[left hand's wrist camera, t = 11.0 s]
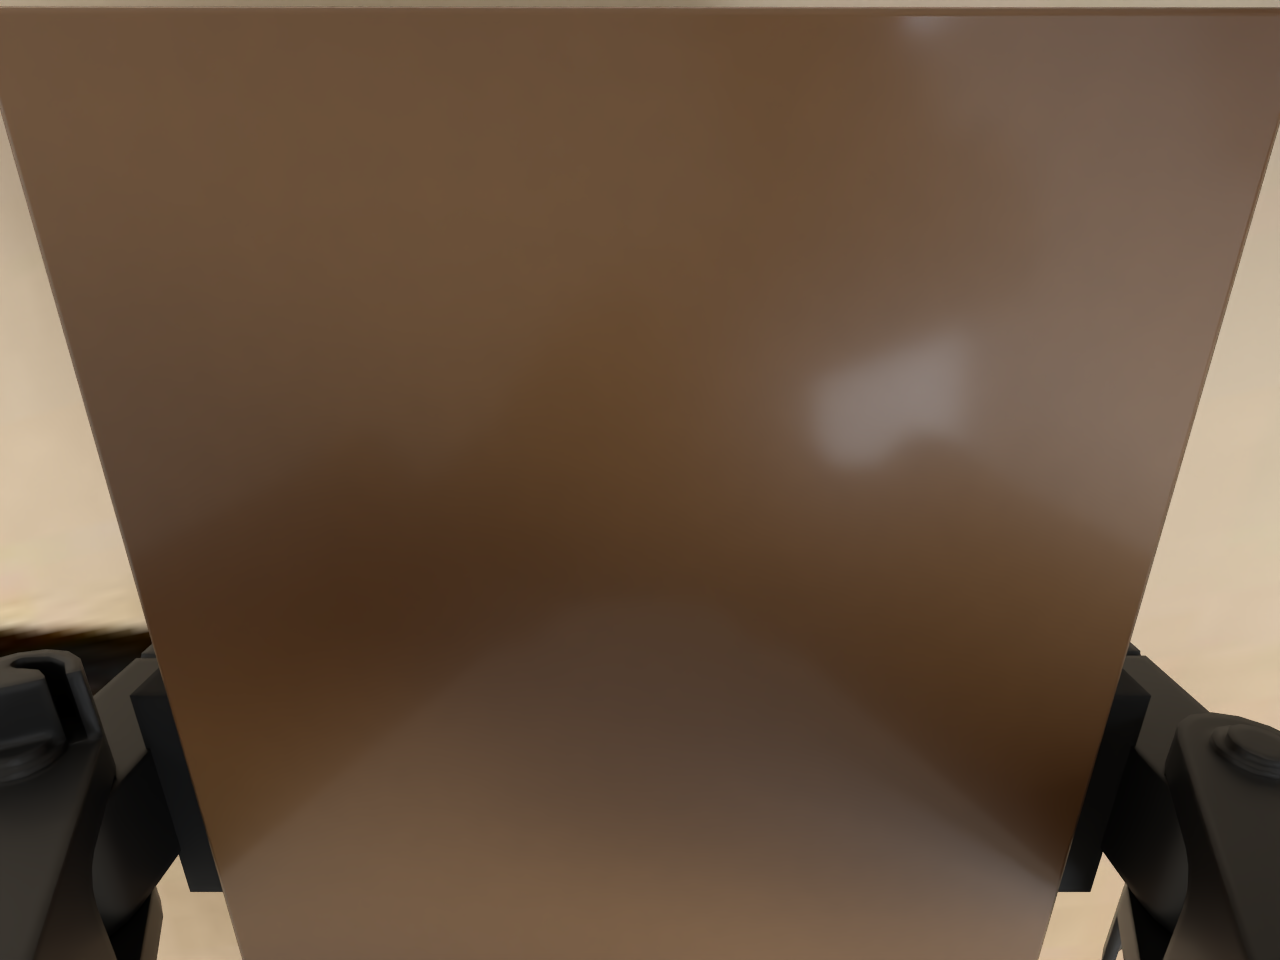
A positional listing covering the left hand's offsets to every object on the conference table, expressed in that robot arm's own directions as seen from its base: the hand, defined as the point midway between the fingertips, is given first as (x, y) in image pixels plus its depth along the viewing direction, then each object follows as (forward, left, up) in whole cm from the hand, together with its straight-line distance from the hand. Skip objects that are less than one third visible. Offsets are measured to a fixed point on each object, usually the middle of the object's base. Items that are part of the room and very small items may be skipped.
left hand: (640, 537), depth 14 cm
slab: (+21, +15, -1) cm, 25 cm away
